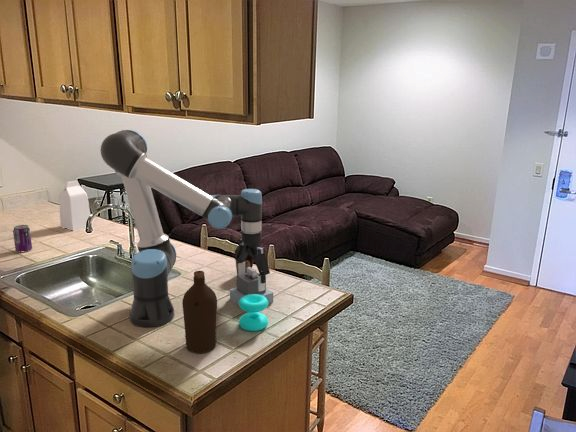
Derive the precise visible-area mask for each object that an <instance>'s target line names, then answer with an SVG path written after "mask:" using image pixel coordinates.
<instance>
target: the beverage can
mask: <svg viewBox="0 0 576 432" xmlns="http://www.w3.org/2000/svg"><path fill="white" fill-rule="evenodd" d="M30 229H31V228H30V227H29V225H27V224H19V225H15V226H14V227H13V231H12V234H13V242H14V246H15V247H14V248H15V251H16V252H18V251H20V252H19V253H22V252H21V251H27V252H29V251H31V250H32V249H33V243H32V234H31V230H30ZM28 250H29V251H28Z"/></svg>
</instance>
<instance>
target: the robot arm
mask: <svg viewBox="0 0 576 432" xmlns="http://www.w3.org/2000/svg"><path fill="white" fill-rule="evenodd" d="M147 153H148V143H147V141H146V139H145V137H144V136H143V135H142V134H140V133H139V132H138V131H136V130H132V129H122V130H120V131H117V132H115V133H112V134H109V135H107V136H106V137H105V138H104V139H103V141H102V142H101V145H100V155H101V159H102V160H103V162H104V163H105V164H106V165H107V166H108V167H109V168H111V169H113V170H114V172H115V174H117V175H118V176H120V177H121V180H122V182H123V186H124V189H125V193H126V196H127V200H128V203H129V206H130V210H131V213H132V218H133V220H134V225H135V228H136V231H137V233H138V238H139V240H138V243H137V244H136V246H137V250H138V252H136V253H135V254H133V256H132V258H131V261H130V262H131V264H130V267H131V268H130V269H131V277H132V291H133V294H132V295H133V300H132V305H131V308H130V310H129V322H130V323H132V324H133V325H134V326H137V327H141V328H154V327H160V326H163V325H166V324H167V323H170V322H171V321H172V320H174V317H175V307H174V306H173V303H172V301H171V299H170V295H169V284H168V277H169V275H170V274H171V271H172V269H173V267H174V266H175V264H176V261H177V251H176V248H175V246H174V245H173V243H171V240H170V237H169V235H168V234H166V233H164V231H163V230H164V229H163V227H162V224H161V220H160V217H159V212H158V209H157V205H156V201H155V198H154V194H153V191H152V189H153V190H156V191H157V192H159V193H161V194H162V195H163V196H165V197H167V198H169V199H170V200H172V201H174V202H176V203H178V204H180V205H181V206H183V207H185V208H187V209H188V210H189V211H192V212H193V213H195V214H197V215H199V216H201V217H202V218H203V219H205V220H207V221H208V224H209V225H210V226H211V227H212V228H215V229H217V230H222V229H225V228H226V227H228V226H229V225H230V223H231V222H232V218H233V217H236V216H237V217H239V216H240V219H241V220H240V221H241V222H240V229H241V232H240V233H241V234H240V235H241V238H240V239H238V246H237V247H238V248H237V247H236V248H237V251H236V255H235V254H234V259H235V261H236V260H237V262H238V275H240V274H244V273H245V262H243V261H244V260H245V259H246V257H247V256H248V255H250V256H252V259H253V262H255V265H256V268H257V269H256V270H258V273H259V275H258V291H259V292H260V291H263V290H265V283H266V284H267V275H270V273H271V271H270V267H269V264H268V263H269V262H268V259H267V255H266V250H265V246H264V247H260V243H261V242H262V240H263V239H262V238H263V236H262V235H263V233H262V230H263V229H262V228H263V226H262V222H263V221H262V220H263V219H262V217H263V197H262V195H263V194H262V191H260V190H259V189H256V188H245V189H242V190H241V192H240V194H237V195H236V194H233V195H232V194H219V193H218V194H208V193H207V192H205V191H203V189H200V188H199V187H196V186H195V185H193V184H192V183H190V182H188V181H186V180H185V179H183V178H181V177H179V176H178V175H176V174H175V173H173V172H171V171H169V170H168V169H166V168H164V167H163V166H162V165H159V164H158V163H156V162H155V161H153V160H151V159H150V158H148V157H147Z"/></svg>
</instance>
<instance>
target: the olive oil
mask: <svg viewBox="0 0 576 432" xmlns="http://www.w3.org/2000/svg"><path fill="white" fill-rule="evenodd" d="M192 278H193V283H192V285H191V286H190V287H189V288H188V289H187V290H186V291H185V293H184V295H183V298H182V303H181V304H182V313H183V323H184V336H185V348H186V350H187V351H188V352H191V353H194V354H205V353H209V352H211V351H213V350H214V349H215V348H216V347H217V320H218V319H217V318H218V316H217V315H218V297H217V295H216V293H215V291H214V290H213V289H212V288H211V287H210V286H208V284H206V278H205V271H203V270H195V271H194V272H193V276H192Z"/></svg>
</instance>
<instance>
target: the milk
mask: <svg viewBox="0 0 576 432" xmlns="http://www.w3.org/2000/svg"><path fill="white" fill-rule="evenodd" d="M58 203H59V205H58V206H59V220H60V221H59V222H60V224H59V225H60V228H61V227H64V228H67V229H70V230H73V231H72V232H75V231H74V230H77V229H80V230H82V229H81V228H84V229H86V228H85V225H86V221H87V219H88V217H89V215H91V209H90V208H91V207H90V203H89V197H88V193H87V192H86V191H85V190H84V189H83V187H82V186H81V185H80V183H79V180H70V181H66V183H65V185H64V188H63V189H62V190H61V191H60V193H59V195H58ZM67 229H66V230H67ZM70 230H69V231H70ZM77 231H78V230H77Z"/></svg>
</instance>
